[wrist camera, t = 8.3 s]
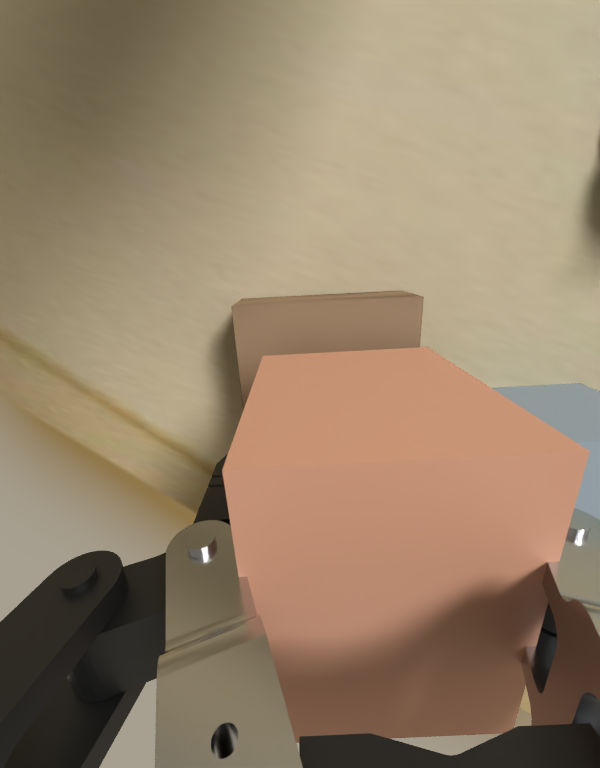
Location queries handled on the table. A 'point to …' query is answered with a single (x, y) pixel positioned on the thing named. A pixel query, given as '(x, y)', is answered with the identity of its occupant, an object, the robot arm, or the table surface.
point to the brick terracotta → (396, 538)
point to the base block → (322, 326)
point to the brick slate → (569, 426)
